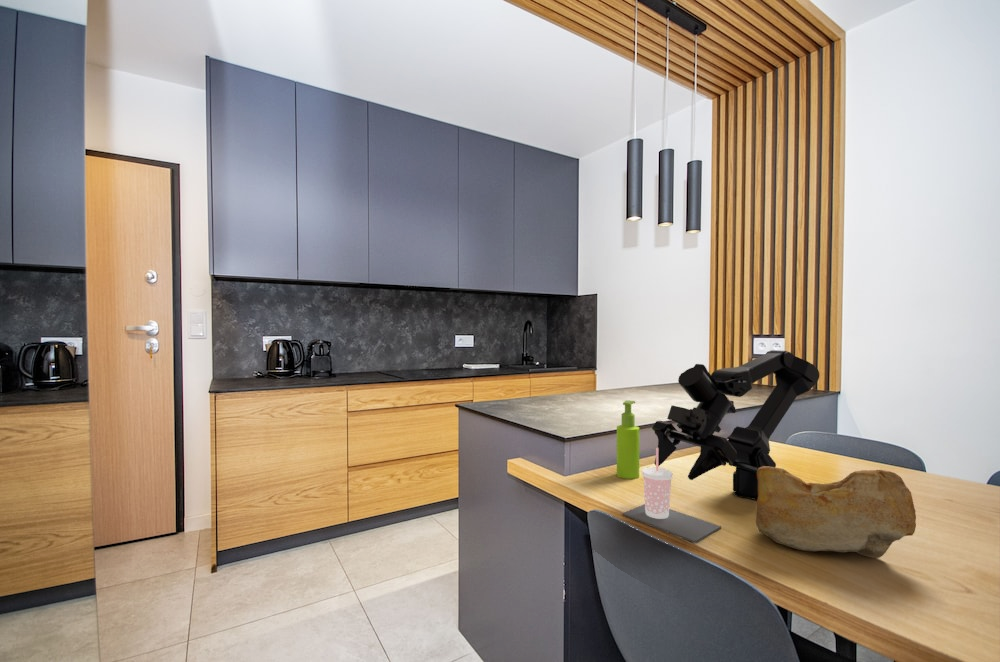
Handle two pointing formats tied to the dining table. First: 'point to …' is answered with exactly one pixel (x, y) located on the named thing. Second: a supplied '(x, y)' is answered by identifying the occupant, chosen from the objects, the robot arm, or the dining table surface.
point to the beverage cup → (657, 490)
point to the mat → (676, 524)
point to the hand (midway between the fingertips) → (671, 471)
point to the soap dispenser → (628, 445)
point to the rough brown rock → (835, 511)
